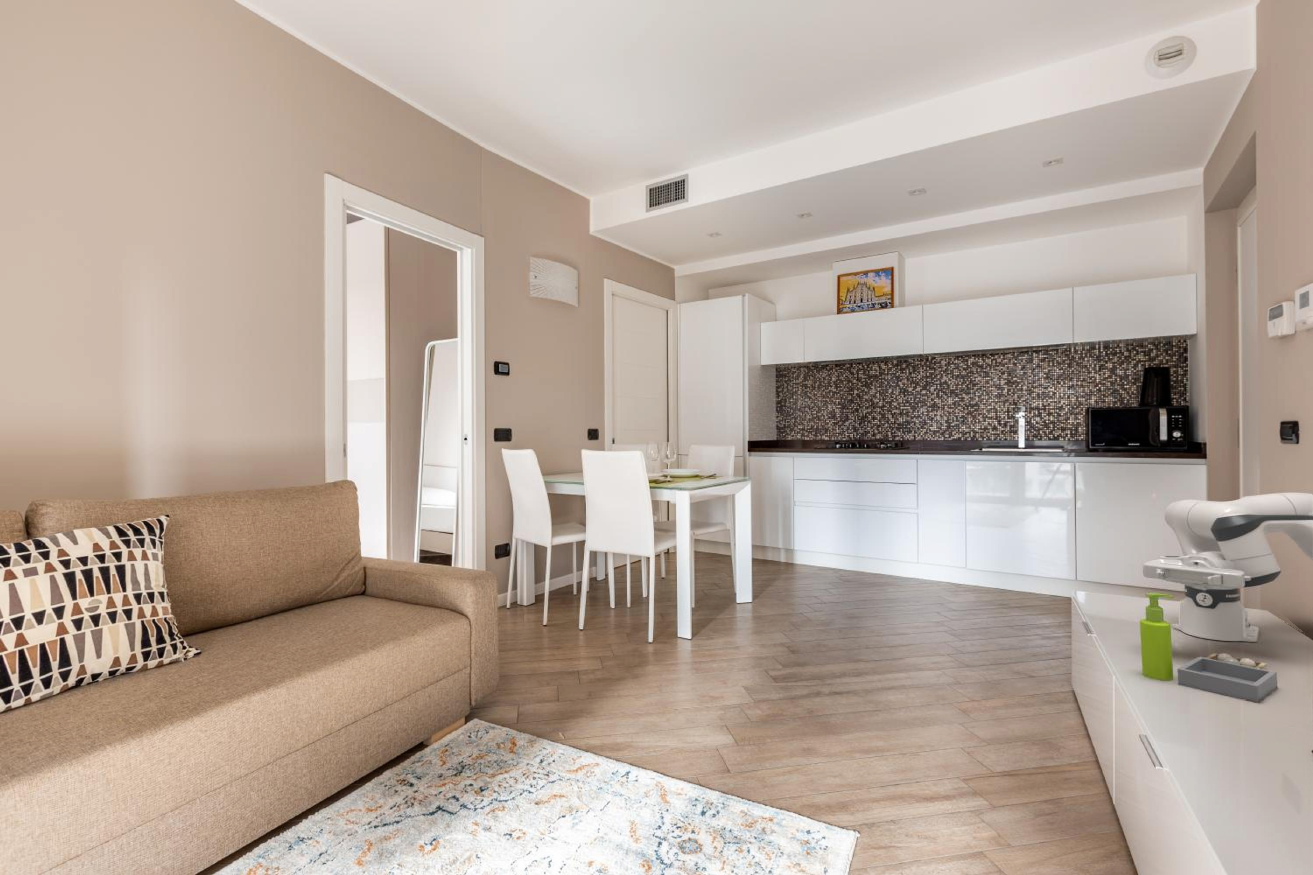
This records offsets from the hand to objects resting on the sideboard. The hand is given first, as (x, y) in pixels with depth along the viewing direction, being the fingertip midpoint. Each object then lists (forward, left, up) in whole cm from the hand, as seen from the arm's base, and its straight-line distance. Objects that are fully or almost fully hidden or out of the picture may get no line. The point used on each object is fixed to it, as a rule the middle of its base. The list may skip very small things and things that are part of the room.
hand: (1182, 578), depth 159 cm
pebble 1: (-7, +6, -20) cm, 22 cm away
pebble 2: (-4, +8, -20) cm, 22 cm away
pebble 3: (-6, +10, -20) cm, 23 cm away
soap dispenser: (+12, -2, -23) cm, 25 cm away
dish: (+8, +10, -23) cm, 26 cm away
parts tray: (-5, +8, -23) cm, 24 cm away
